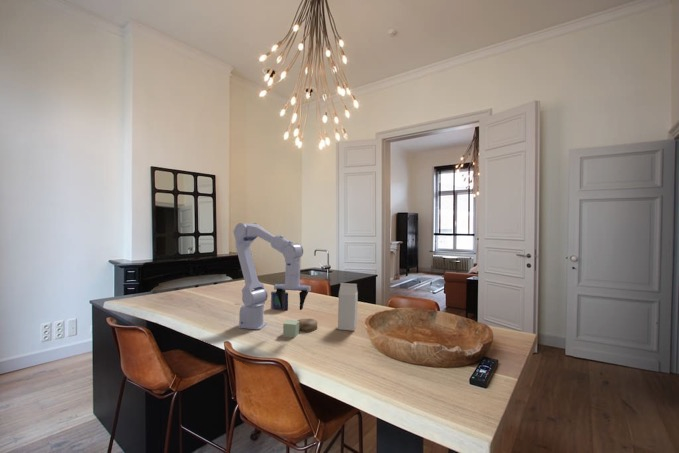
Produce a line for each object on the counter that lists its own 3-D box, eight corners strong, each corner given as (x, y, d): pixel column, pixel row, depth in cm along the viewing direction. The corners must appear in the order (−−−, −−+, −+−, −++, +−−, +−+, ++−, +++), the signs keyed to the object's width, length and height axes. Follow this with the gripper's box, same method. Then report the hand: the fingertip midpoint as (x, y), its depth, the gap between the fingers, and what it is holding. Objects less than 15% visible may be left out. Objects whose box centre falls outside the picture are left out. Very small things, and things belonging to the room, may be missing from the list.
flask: (269, 309, 157) (270, 288, 157) (272, 307, 160) (273, 287, 160) (286, 311, 155) (287, 289, 155) (289, 309, 158) (289, 288, 158)
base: (293, 330, 127) (293, 324, 127) (299, 323, 136) (299, 317, 136) (314, 332, 126) (314, 326, 126) (319, 325, 135) (319, 319, 135)
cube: (283, 336, 121) (283, 323, 121) (287, 332, 126) (287, 319, 125) (295, 337, 120) (295, 324, 120) (298, 333, 125) (299, 320, 125)
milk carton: (354, 331, 128) (355, 285, 128) (337, 329, 130) (338, 284, 130) (356, 325, 135) (358, 282, 135) (341, 324, 137) (342, 281, 136)
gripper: (271, 275, 120) (270, 310, 120) (308, 277, 117) (307, 312, 118) (277, 272, 127) (276, 305, 127) (312, 274, 124) (311, 307, 125)
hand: (291, 308), depth 123 cm, fingers open, 7 cm apart
